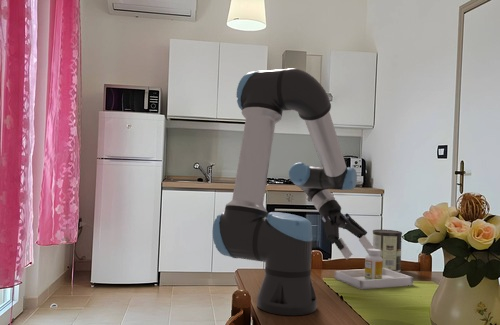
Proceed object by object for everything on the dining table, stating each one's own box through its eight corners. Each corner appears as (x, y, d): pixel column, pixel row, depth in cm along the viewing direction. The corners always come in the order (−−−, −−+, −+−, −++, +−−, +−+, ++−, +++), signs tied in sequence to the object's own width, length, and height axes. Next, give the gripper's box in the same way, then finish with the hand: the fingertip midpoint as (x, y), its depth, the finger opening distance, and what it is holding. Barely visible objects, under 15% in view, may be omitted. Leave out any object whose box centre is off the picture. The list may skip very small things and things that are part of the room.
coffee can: (388, 266, 172) (389, 229, 173) (406, 272, 163) (408, 232, 163) (365, 267, 168) (366, 229, 169) (383, 273, 159) (384, 233, 159)
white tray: (361, 289, 136) (361, 281, 136) (334, 278, 148) (334, 270, 148) (412, 285, 144) (413, 277, 144) (383, 275, 156) (383, 267, 156)
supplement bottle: (381, 278, 148) (382, 249, 148) (381, 282, 143) (383, 251, 143) (364, 277, 149) (365, 247, 150) (364, 280, 144) (365, 250, 144)
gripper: (341, 211, 172) (374, 257, 160) (297, 213, 155) (331, 265, 143) (353, 198, 168) (388, 244, 157) (310, 199, 151) (346, 251, 140)
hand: (361, 255), depth 150 cm, fingers open, 13 cm apart
